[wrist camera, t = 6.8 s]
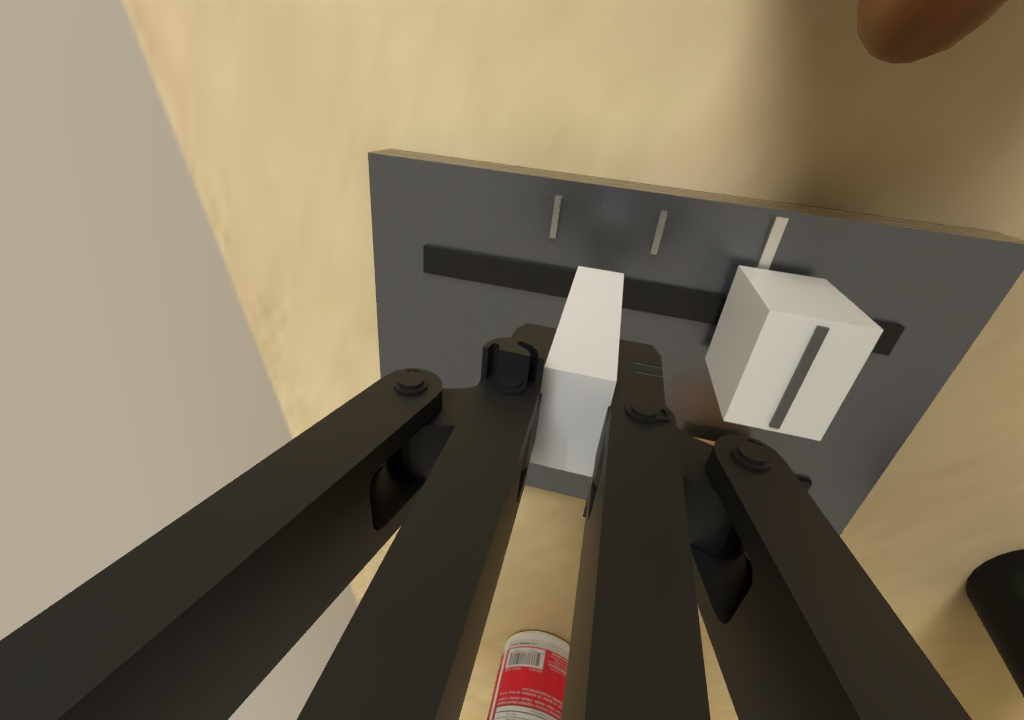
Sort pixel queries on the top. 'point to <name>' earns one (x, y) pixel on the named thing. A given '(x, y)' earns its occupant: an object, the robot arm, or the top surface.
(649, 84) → the top surface
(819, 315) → the fader
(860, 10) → the mug
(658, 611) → the robot arm
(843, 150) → the top surface
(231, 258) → the top surface
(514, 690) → the pill bottle
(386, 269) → the console
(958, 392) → the top surface
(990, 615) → the cup
